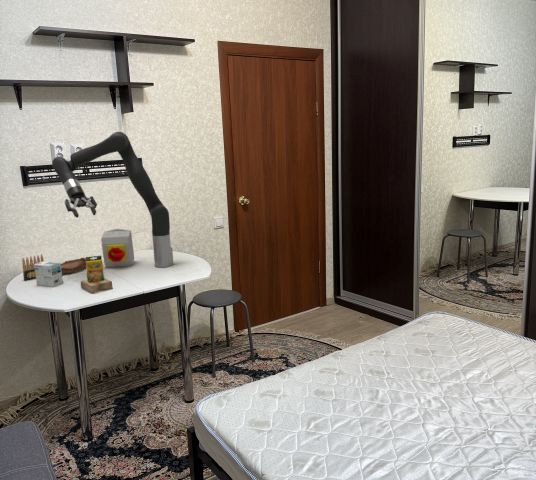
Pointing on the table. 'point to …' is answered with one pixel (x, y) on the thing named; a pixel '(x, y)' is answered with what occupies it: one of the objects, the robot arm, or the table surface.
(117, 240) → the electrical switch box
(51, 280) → the light bulb box
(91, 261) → the crayon box
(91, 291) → the tray
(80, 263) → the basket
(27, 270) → the ammunition clip
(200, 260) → the table surface
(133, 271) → the table surface
